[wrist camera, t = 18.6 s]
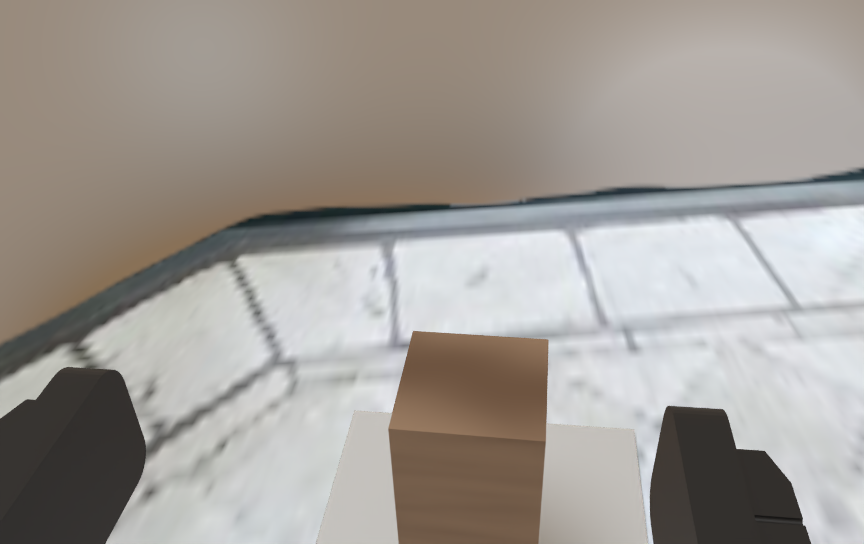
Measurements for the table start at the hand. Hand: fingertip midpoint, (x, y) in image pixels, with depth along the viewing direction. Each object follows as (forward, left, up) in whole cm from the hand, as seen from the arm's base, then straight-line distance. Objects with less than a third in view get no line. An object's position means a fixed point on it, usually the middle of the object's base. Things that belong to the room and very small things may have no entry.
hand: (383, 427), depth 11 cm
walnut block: (-11, +4, -24) cm, 26 cm away
